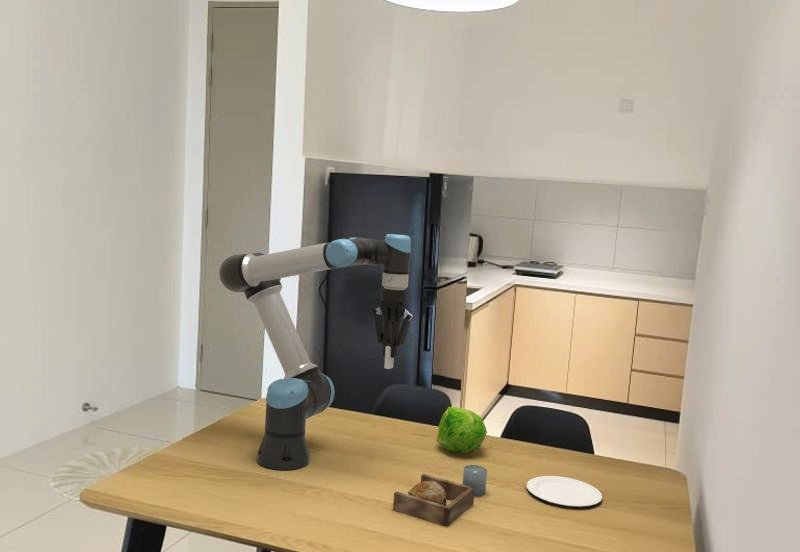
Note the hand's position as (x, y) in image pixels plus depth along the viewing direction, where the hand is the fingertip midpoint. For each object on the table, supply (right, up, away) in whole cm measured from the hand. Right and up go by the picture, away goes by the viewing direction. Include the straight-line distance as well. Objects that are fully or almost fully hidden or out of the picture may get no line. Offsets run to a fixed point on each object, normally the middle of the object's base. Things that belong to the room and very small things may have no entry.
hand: (388, 367), depth 209 cm
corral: (+12, -33, -24) cm, 42 cm away
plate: (+49, -35, -9) cm, 61 cm away
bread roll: (+10, -33, -23) cm, 41 cm away
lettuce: (+23, -29, +21) cm, 43 cm away
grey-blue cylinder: (+24, -33, -12) cm, 42 cm away
